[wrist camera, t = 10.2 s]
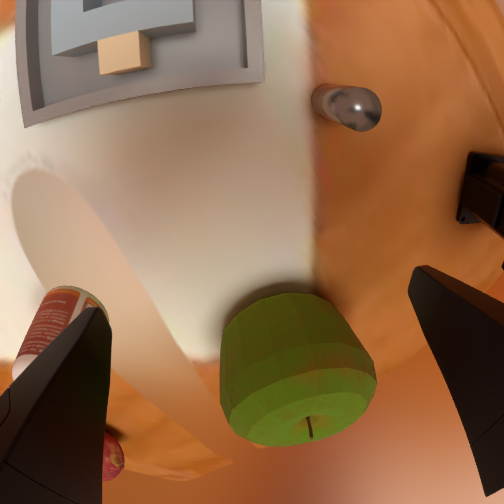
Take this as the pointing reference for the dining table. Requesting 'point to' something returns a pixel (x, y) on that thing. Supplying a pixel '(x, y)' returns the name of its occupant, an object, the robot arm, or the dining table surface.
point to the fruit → (112, 458)
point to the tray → (143, 81)
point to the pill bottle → (52, 322)
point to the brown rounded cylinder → (347, 106)
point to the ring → (117, 30)
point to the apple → (293, 371)
